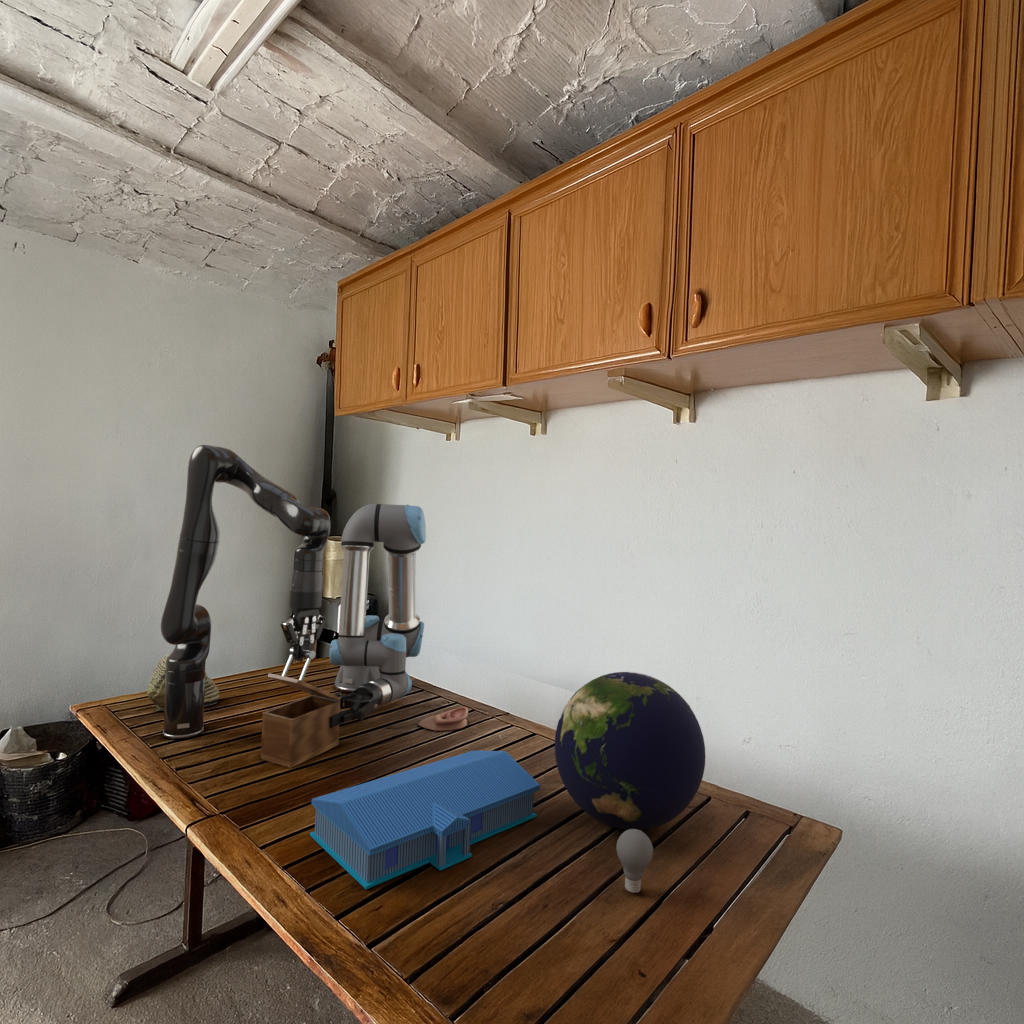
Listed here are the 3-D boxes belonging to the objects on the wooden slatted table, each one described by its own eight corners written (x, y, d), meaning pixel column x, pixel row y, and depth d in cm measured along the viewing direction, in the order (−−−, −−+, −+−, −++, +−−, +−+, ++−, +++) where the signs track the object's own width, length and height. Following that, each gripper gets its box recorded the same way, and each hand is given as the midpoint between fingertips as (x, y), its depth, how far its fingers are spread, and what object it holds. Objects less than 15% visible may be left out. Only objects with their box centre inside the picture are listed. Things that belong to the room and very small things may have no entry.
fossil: (144, 707, 182) (145, 655, 182) (212, 696, 194) (213, 647, 194) (151, 716, 175) (153, 662, 175) (221, 703, 188) (223, 653, 188)
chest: (290, 768, 147) (292, 720, 147) (260, 759, 151) (262, 712, 151) (338, 744, 162) (340, 701, 161) (310, 737, 166) (311, 694, 166)
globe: (530, 838, 120) (537, 682, 120) (575, 777, 148) (580, 650, 148) (692, 880, 109) (701, 707, 109) (708, 805, 137) (715, 668, 136)
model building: (376, 899, 100) (378, 836, 100) (308, 834, 119) (310, 781, 118) (548, 822, 127) (550, 773, 127) (472, 779, 145) (474, 735, 145)
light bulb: (610, 879, 108) (613, 822, 108) (644, 879, 109) (647, 822, 109) (619, 902, 102) (622, 840, 102) (655, 901, 103) (658, 840, 103)
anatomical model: (414, 713, 175) (428, 701, 186) (414, 728, 175) (427, 714, 186) (460, 719, 172) (471, 706, 184) (460, 733, 172) (471, 719, 184)
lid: (297, 683, 148) (311, 648, 151) (267, 676, 152) (281, 642, 155) (339, 701, 161) (351, 668, 165) (311, 694, 165) (323, 662, 169)
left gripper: (296, 592, 147) (292, 667, 147) (337, 588, 160) (333, 656, 160) (273, 589, 151) (268, 662, 151) (315, 584, 163) (310, 652, 163)
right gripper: (403, 715, 176) (349, 742, 156) (340, 701, 185) (282, 724, 165) (404, 689, 176) (350, 711, 155) (341, 676, 185) (283, 695, 165)
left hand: (302, 658), depth 155 cm, fingers closed on lid, 2 cm apart
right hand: (315, 718), depth 160 cm, fingers closed on chest, 10 cm apart
